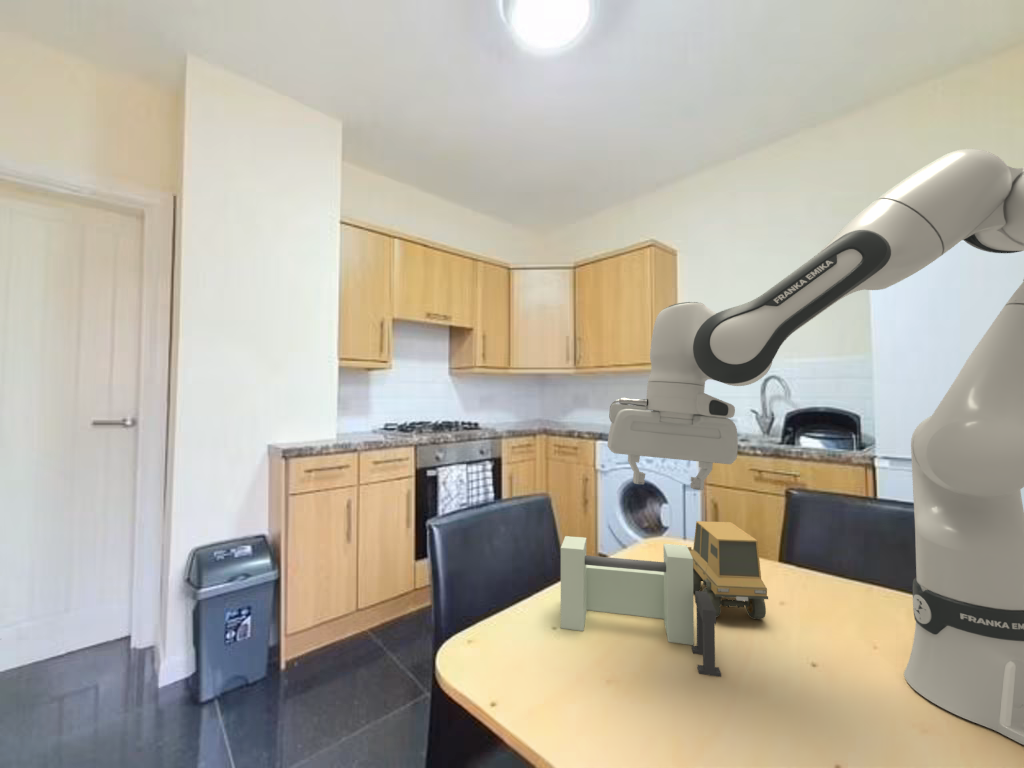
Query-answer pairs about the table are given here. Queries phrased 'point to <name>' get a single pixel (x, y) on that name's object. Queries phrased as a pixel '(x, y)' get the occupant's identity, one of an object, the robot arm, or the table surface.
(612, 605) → the lever switch frame
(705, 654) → the dark grey flanged post
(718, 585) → the toy car
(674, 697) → the table surface
